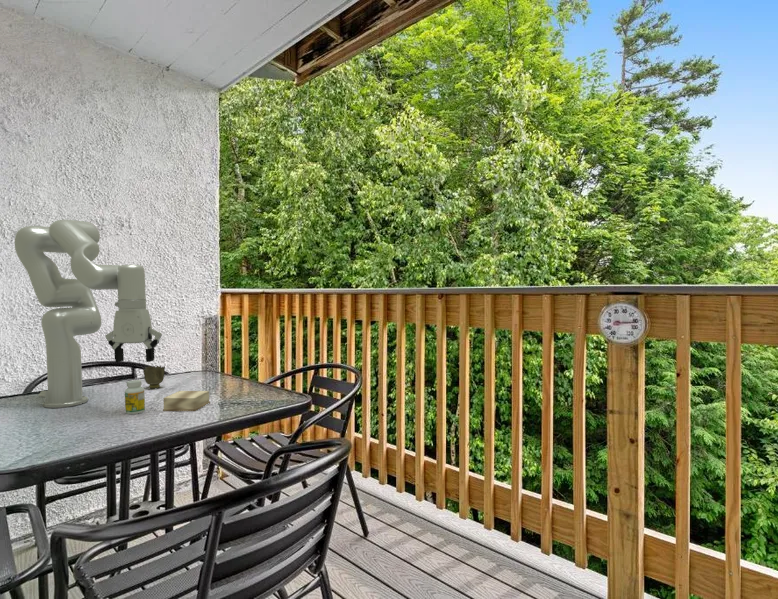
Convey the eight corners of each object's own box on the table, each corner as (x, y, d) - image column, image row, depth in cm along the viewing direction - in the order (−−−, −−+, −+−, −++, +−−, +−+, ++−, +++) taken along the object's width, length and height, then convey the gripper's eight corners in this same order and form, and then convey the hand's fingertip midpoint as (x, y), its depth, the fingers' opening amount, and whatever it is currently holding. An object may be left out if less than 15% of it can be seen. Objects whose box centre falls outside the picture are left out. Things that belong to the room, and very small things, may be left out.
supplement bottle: (149, 410, 154) (148, 380, 154) (135, 415, 149) (134, 383, 149) (135, 409, 156) (134, 379, 156) (121, 414, 151) (120, 382, 151)
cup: (159, 390, 184) (159, 368, 183) (139, 390, 184) (139, 368, 184) (168, 386, 191) (168, 365, 191) (149, 386, 191) (149, 365, 191)
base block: (162, 411, 154) (162, 398, 154) (179, 402, 164) (179, 390, 164) (195, 411, 153) (195, 398, 153) (210, 403, 163) (209, 390, 163)
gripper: (97, 306, 148) (99, 364, 149) (152, 305, 147) (155, 363, 148) (112, 305, 156) (115, 360, 156) (166, 304, 154) (168, 359, 155)
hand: (134, 361), depth 152 cm, fingers open, 9 cm apart
